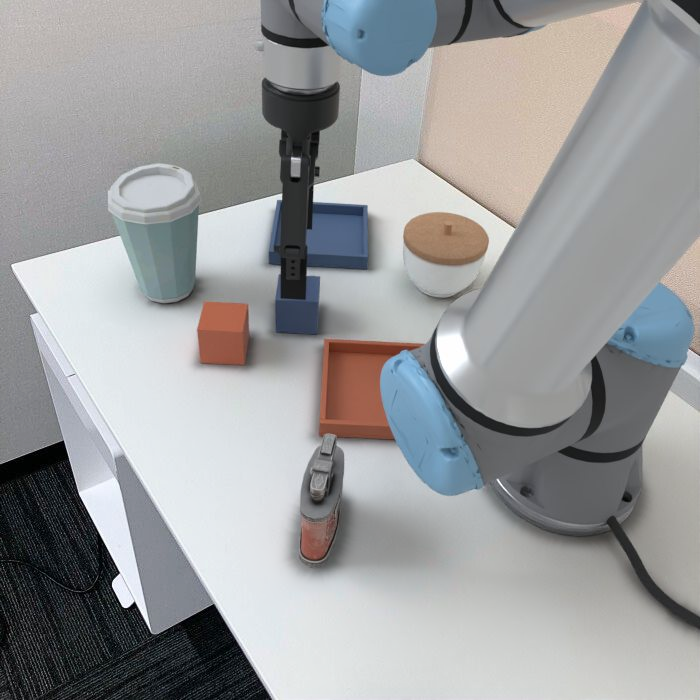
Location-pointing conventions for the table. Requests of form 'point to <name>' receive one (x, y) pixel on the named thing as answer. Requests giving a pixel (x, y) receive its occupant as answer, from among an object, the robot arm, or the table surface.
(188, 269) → the disposable coffee cup
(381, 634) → the table surface
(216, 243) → the table surface
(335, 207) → the slate tray
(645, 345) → the robot arm
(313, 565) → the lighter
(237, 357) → the terracotta block
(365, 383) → the terracotta tray
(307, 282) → the slate block
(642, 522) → the table surface
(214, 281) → the table surface
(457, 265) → the trinket box
